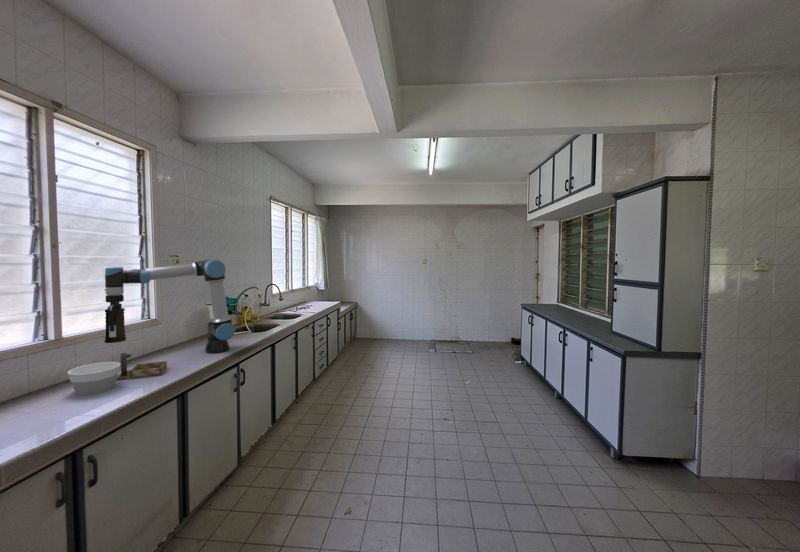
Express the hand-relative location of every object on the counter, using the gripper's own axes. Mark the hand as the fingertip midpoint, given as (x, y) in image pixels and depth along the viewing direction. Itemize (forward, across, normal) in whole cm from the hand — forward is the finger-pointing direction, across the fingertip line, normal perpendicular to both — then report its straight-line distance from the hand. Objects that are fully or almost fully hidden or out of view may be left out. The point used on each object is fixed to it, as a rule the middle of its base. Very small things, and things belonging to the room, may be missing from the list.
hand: (115, 335), depth 179 cm
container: (+4, 0, 0) cm, 4 cm away
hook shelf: (+22, +6, +13) cm, 26 cm away
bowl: (+22, +22, -2) cm, 32 cm away
